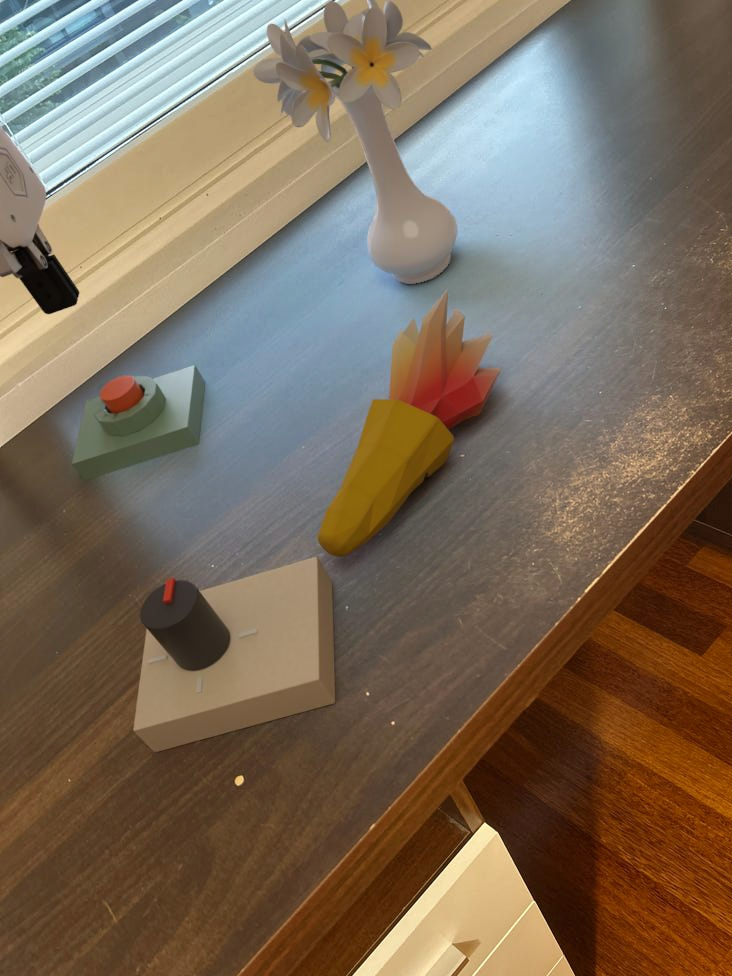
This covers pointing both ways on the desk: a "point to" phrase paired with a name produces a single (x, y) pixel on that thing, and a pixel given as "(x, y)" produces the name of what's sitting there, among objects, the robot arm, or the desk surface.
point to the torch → (409, 425)
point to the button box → (141, 424)
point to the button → (121, 394)
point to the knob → (185, 625)
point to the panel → (246, 660)
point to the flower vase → (366, 125)
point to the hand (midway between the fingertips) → (63, 304)
